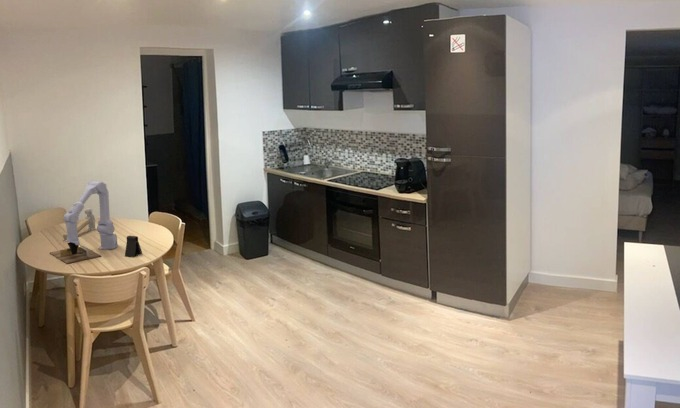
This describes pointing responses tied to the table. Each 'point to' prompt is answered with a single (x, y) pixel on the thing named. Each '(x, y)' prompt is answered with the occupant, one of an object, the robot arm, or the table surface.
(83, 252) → the strip
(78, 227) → the hammer
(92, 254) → the walnut board
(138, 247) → the phone stand
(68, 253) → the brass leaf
